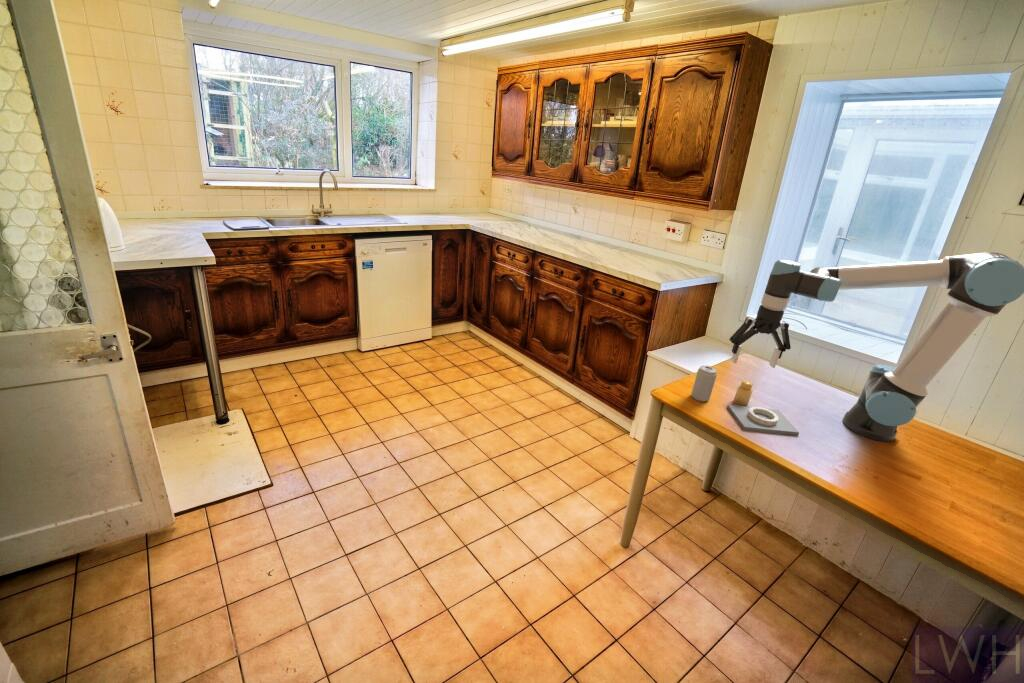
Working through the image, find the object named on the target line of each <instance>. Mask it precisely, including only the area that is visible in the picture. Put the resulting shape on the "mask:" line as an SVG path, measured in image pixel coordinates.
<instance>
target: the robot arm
mask: <svg viewBox="0 0 1024 683" xmlns="http://www.w3.org/2000/svg"><path fill="white" fill-rule="evenodd" d="M918 287H923V288H924V287H941V288H943V289H944V290H949V291H948V292H947V294H946V296H947V298H948V303H947V304H946V305H945V307H944V308H942V311H940V313H939V314H938V315H937V317H935V319H934V320H933V321H932V323H931V324H930V325H929V326H928V328H926V330H925V331H924V332H923V334H922V335H921V336H920V338H919V339H917V341H916V342H915V344H914V345H913V346H912V348H910V350H909V351H908V352H907V354H906V355H905V356H904V357H903V359H902V360H901V361H900V363H899V364H898V365H897V366H896V367H895V366H891V365H886V364H881V363H880V364H878V363H877V364H875V365H873V367H872V369H871V370H869V375H868V377H867V379H866V382H865V384H864V386H863V388H862V390H861V392H860V395H859V397H858V400H856V403H855V404H854V405H852V407H851V408H850V409H849V410H848V411H846V413H845V414H844V416H843V418H842V423H843V424H844V425H845V427H847V429H850V431H852V432H854V433H856V434H858V435H860V436H862V437H865V438H867V439H871V440H874V441H880V442H892V441H894V440H895V439H896V437H897V434H898V427H900V426H903V425H907V424H909V423H910V422H911V421H912V420H913V419H915V416H916V414H917V407H919V405H920V404H921V402H923V400H924V399H925V398H926V397H927V395H929V394H928V391H927V386H928V385H929V383H931V382H932V380H933V379H934V378H935V377H936V376H937V374H939V372H940V371H941V369H943V367H944V366H945V365H947V363H948V362H949V360H951V358H952V357H953V356H954V355H955V353H956V352H958V350H959V349H960V348H961V346H962V345H963V344H964V343H965V342H966V341H967V339H969V337H970V336H971V335H972V334H973V333H974V331H976V329H977V328H978V327H979V326H980V324H981V323H982V322H983V321H984V320H985V319H986V318H988V317H992V316H997V315H998V314H999V313H1000V312H1001V311H1002V310H1003V309H1004V308H1005V306H1006V305H1007V304H1010V303H1012V302H1015V301H1017V300H1018V299H1019V298H1020V297H1021V296H1022V295H1024V266H1023V265H1022V264H1021V263H1020V262H1019V261H1017V260H1015V259H1013V258H1011V257H1009V256H1007V255H1005V254H1002V253H998V252H993V251H991V252H990V251H988V252H986V251H984V252H977V253H976V252H975V253H969V254H961V255H959V254H958V255H950V256H949V255H948V256H947V255H946V256H945V257H943V258H942V259H940V260H927V261H911V262H910V261H908V262H897V263H896V262H895V263H883V264H882V263H880V264H867V265H866V264H865V265H851V266H850V265H849V266H838V267H837V266H836V267H826V266H817V267H814V268H812V270H810V271H809V272H808V271H805V270H802V269H801V264H800V263H798V262H796V261H792V260H788V259H787V260H786V259H777V260H776V261H775V262H774V264H773V266H772V269H771V271H770V275H769V277H768V280H767V283H766V286H765V289H764V292H763V295H762V296H763V297H762V299H761V301H760V303H761V304H760V305H759V307H758V309H757V313H756V317H755V319H754V318H751V317H749V316H747V317H746V318H745V320H744V322H743V323H742V324H741V325H740V326H739V328H738V329H736V331H735V332H734V333H733V334H732V335H731V336H730V337H729V339H728V340H729V341H730V342H731V344H733V346H732V349H731V353H732V356H731V359H730V360H731V362H732V363H733V364H737V362H738V360H739V356H740V353H741V350H742V344H744V343H745V342H746V341H748V340H749V339H751V338H752V337H754V336H755V335H757V334H759V333H760V334H766V335H771V336H772V338H773V340H774V342H775V345H776V346H777V347H774V349H773V353H772V355H771V358H770V360H769V364H768V365H769V366H770V367H771V368H773V369H775V368H776V365H777V363H778V360H779V359H781V358H782V355H783V353H784V352H786V350H788V351H789V350H791V349H792V348H791V341H790V334H789V327H790V323H788V322H786V321H785V320H783V321H782V319H783V317H784V314H785V310H786V309H787V306H788V303H789V299H790V297H791V295H792V294H794V295H798V296H802V297H806V298H810V299H814V300H818V301H820V302H828V303H831V302H834V301H835V300H836V297H837V295H838V292H839V291H843V290H844V291H847V290H849V291H850V290H867V289H869V290H870V289H891V288H892V289H895V288H898V289H899V288H918ZM753 324H754V325H753ZM779 328H780V332H781V338H782V340H781V338H780V336H779V333H778V329H779Z"/></svg>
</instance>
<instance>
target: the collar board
mask: <svg viewBox="0 0 1024 683" xmlns="http://www.w3.org/2000/svg"><path fill="white" fill-rule="evenodd" d="M726 408H727V409H728V411H729V412H730V413H731V416H733V418H734V419H735V420H736V422H737V423H738V424H739V426H740V427H741V429H742V430H743V431H752V432H760V433H769V434H770V433H771V434H780V435H789V436H799V434H800V431H799V430H797V428H796V427H795V426H794V425H793V424H792V423H791V422H790V420H789V419H788V418H787V417H786V416H785V415H784V414H783V413H782V412H781V411H780V410H779V409H773V408H764V407H761V406H742V405H738V404H737V405H735V404H734V405H733V404H727V406H726Z"/></svg>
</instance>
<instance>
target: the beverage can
mask: <svg viewBox="0 0 1024 683" xmlns="http://www.w3.org/2000/svg"><path fill="white" fill-rule="evenodd" d="M717 372H718V371H717V369H716V368H715V367H713V366H709V365H700V366H699V368H698V369H697V373H696V375H695V379H694V383H693V387H692V390H691V396H692V398H693V399H695V400H696V401H697V402H702V403H703V402H708V401H709V400H710V398H711V396H712V393H713V390H714V386H715V382H716V380H717V376H718V374H717Z"/></svg>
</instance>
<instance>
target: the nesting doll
mask: <svg viewBox="0 0 1024 683" xmlns="http://www.w3.org/2000/svg"><path fill="white" fill-rule="evenodd" d="M753 392H754V389H753V382H751V381H748V380H741V383H740V384H739V385H738V386H737V389H736V393H735V396H734V398H733V402H734V403H735V404H737V406H746V407H748V405H749V402H750V399H751V396H752V394H753Z"/></svg>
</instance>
